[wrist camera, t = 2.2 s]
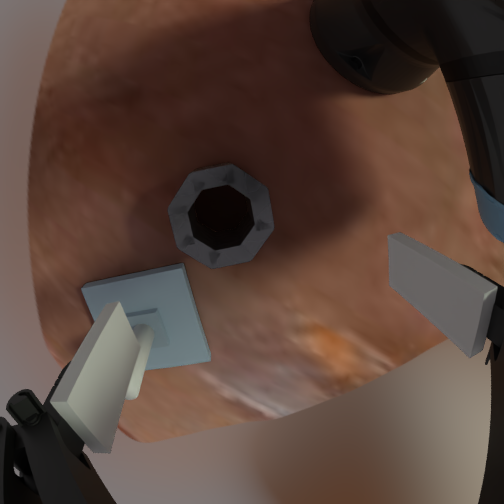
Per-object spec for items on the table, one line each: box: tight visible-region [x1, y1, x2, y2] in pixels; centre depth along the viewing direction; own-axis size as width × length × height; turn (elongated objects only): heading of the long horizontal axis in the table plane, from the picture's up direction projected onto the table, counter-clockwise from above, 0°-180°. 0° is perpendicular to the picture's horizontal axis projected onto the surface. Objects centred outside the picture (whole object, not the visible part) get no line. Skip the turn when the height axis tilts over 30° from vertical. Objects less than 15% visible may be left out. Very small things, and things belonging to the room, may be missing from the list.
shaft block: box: [81, 263, 211, 400], centre depth 27 cm, size 12×12×12 cm
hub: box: [168, 162, 275, 269], centre depth 26 cm, size 8×8×6 cm
